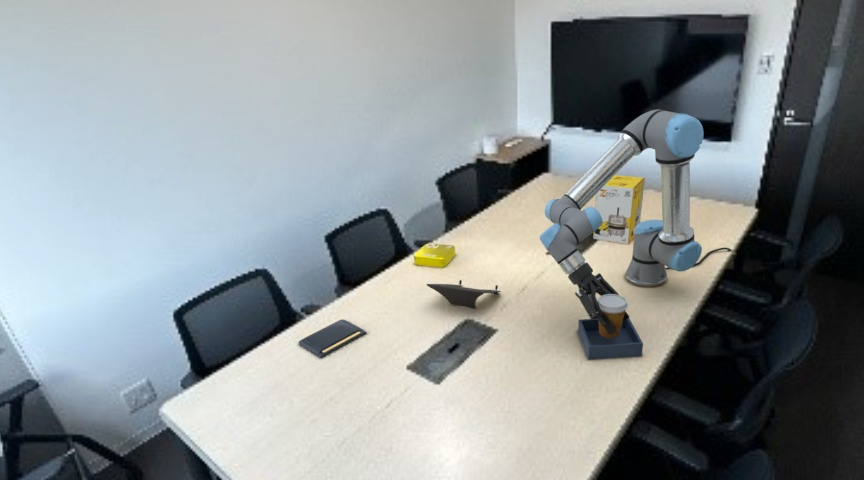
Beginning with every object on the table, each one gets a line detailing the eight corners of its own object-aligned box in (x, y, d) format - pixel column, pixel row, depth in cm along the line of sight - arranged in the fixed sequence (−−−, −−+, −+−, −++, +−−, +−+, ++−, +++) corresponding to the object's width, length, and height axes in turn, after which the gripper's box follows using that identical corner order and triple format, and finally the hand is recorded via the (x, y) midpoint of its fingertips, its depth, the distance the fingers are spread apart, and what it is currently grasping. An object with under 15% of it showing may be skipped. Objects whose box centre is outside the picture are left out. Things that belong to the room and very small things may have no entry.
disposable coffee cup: (625, 327, 175) (629, 294, 169) (623, 342, 168) (627, 309, 161) (595, 323, 178) (598, 291, 172) (592, 339, 171) (594, 306, 164)
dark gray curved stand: (503, 309, 211) (506, 286, 209) (481, 312, 190) (484, 286, 188) (450, 301, 219) (452, 279, 218) (424, 303, 199) (427, 278, 197)
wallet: (342, 316, 200) (366, 329, 191) (343, 320, 201) (367, 334, 192) (295, 338, 189) (318, 354, 180) (296, 343, 190) (319, 358, 181)
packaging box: (639, 231, 250) (645, 177, 237) (628, 244, 239) (633, 188, 226) (605, 226, 258) (609, 174, 245) (593, 238, 247) (596, 185, 234)
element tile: (413, 265, 238) (411, 255, 236) (427, 251, 250) (426, 241, 247) (444, 268, 233) (443, 258, 230) (457, 254, 244) (456, 244, 242)
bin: (627, 328, 182) (628, 316, 179) (641, 356, 168) (643, 343, 165) (577, 331, 183) (578, 319, 180) (588, 359, 169) (589, 347, 166)
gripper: (584, 261, 179) (625, 315, 179) (551, 287, 166) (595, 346, 165) (600, 250, 173) (642, 306, 173) (567, 276, 160) (613, 336, 159)
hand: (619, 325), depth 169 cm, fingers closed on disposable coffee cup, 9 cm apart
